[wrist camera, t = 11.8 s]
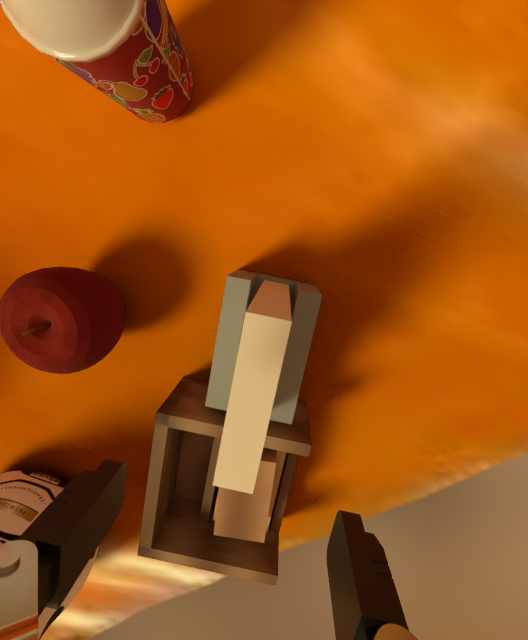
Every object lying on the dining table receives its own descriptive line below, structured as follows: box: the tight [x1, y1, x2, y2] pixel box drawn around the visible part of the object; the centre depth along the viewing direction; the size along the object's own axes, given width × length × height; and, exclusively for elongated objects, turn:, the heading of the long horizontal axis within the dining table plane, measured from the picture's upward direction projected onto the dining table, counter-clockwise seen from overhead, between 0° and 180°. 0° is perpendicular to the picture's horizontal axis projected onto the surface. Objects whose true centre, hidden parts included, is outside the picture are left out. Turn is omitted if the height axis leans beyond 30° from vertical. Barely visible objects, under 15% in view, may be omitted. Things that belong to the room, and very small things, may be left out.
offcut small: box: [214, 447, 277, 543], centre depth 33 cm, size 5×9×3 cm, turn 173°
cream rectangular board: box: [213, 280, 292, 494], centre depth 27 cm, size 2×11×16 cm, turn 169°
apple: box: [0, 267, 126, 374], centre depth 31 cm, size 10×10×10 cm
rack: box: [138, 377, 312, 585], centre depth 35 cm, size 14×16×8 cm
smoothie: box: [0, 0, 193, 123], centre depth 21 cm, size 8×8×20 cm
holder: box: [205, 269, 323, 424], centre depth 32 cm, size 8×12×7 cm, turn 169°
